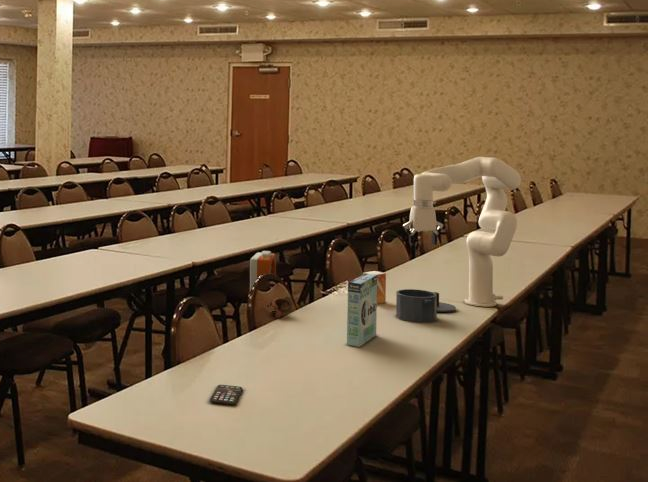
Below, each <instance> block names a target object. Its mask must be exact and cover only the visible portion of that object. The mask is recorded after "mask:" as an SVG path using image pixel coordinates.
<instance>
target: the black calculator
mask: <svg viewBox="0 0 648 482" xmlns="http://www.w3.org/2000/svg"><path fill="white" fill-rule="evenodd" d="M242 392H243V387H242V386H238V385H237V386H236V385H228V384H218V385H217V386H216V388H215V389H214V392H213V393H212V395H211V396H210V399H209V402H210V403H212V404H221V405H231V406H235V405H236V403H237V401H238V399H239V397H240V395H241V393H242Z"/></svg>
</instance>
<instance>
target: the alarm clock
mask: <svg viewBox="0 0 648 482" xmlns="http://www.w3.org/2000/svg"><path fill="white" fill-rule="evenodd" d="M267 273H268V274H274V275H275V276H276V277H277V256H276V253H274V252H272V251H270V250H262V251H261V252H259V251H258V252H256V253H255V254H253V256H252V257H251V258H250V260H249V292H250V291H251V289H252V287H253V285H254V283H255V281H256V280H257V279H258V277H259V276H260V275H262V274H267Z"/></svg>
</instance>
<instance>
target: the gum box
mask: <svg viewBox="0 0 648 482" xmlns="http://www.w3.org/2000/svg"><path fill="white" fill-rule="evenodd" d="M364 273H365V272H364ZM377 305H378V304H377V275H375V274H367V273H365V274H363V273H362V274H361V275H360V276H358V277H355V278H354V279H352V280H349V281H348V282H347V316H346V317H347V318H346V320H347V321H346V322H347V323H346V346H350V347H357V348H360V347H362V346H363V345H365V344H366V343H367V342H368V341H370V340H371V339H373V338H374V337H376V336H377V317H378V316H377V313H378V311H377V309H378V308H377V307H378V306H377Z"/></svg>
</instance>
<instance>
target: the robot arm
mask: <svg viewBox="0 0 648 482" xmlns="http://www.w3.org/2000/svg"><path fill="white" fill-rule="evenodd" d="M479 178H481V181H482V183H483V186H484V188H485V191H486V199H485V201H484V204H483V207H482V210H481V213H480V215H479V219H478V226H479V227H480V229H482V230H485V231H482V230H474V231H472V232H470V233H469V234H468V235H467V237H466V249H467V253H468V298H465V299H464V303H465V304H466V305H468V306H475V307H484V308H488V307H489V308H490V307H496V306H497V300H499V301H500V300H504V296H503V295H502V294H498V295H497V294H495V293H494V292H493V291H494V289H493V286H494V285H493V283H494V279H493V277H494V276H493V275H494V263H493V259H492V258H491V256H493V257H503V256H505V255H506V254H507V252H508V250H509V248H510V246H511V243H512V241H513V238H514V236H515V233H516V230H517V226H518V220H517V217H516V215H515V214H514V213H513V212H511V211H507V210H506V209H507V205H508V197H507V194H506V192H505V190H508V191H509V190H510V191H513V190H516V189H518V188H519V187H520V186H521V183H522V178H521V175H520V173H519V172H518V171H517V170H516V169H514V168H513V167H512V166H510V165H509V164H508V163H506V161H504V160H502V159H500V158H498V157H489V156H477V157H473V158H471V159H467V160H465V161H461V162H458V163H456V164H450V165H444V166H440V167H434V168H431V169H429V170H426V171H425V170H424V171H423V172H421V173H417V174H415V175H414V176H413V206H411V208H410V213H409V221H407V222H406V223H403V224H402V227H403V229H404V231H405V232H406V234H407V235H408V243H409V245H411V246H415V245H416V236H415V234H416V232H431V233H432V234H431V236H430V237H431V238H430V243H431V244H432V245H435V246H436V245H438V236H439V234H440V233H441V231H442V229H443V227H444V223H441V222H440V221H438V220H437V216H436V214H437V213H436V209H435V207H434V205H435V204H436V200H434V192H446V191H448V190H450V189H451V187H452V185H453V184H454V185H455V184H458V185H459V184H465V183H468V182H470V181H473V180H476V179H479ZM487 231H488V232H487Z"/></svg>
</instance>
